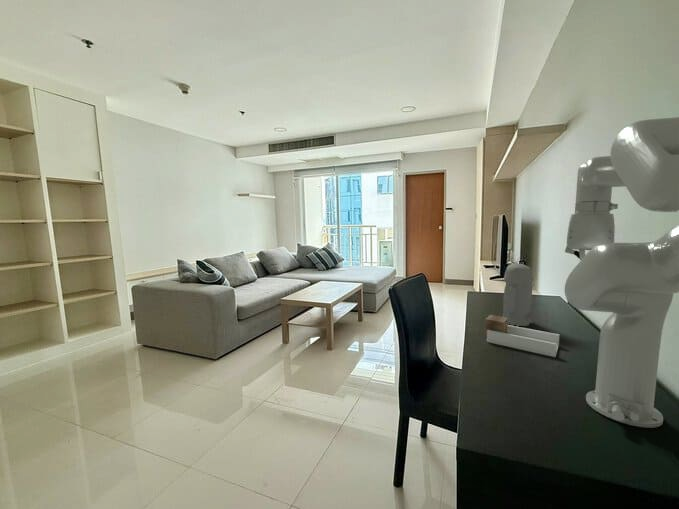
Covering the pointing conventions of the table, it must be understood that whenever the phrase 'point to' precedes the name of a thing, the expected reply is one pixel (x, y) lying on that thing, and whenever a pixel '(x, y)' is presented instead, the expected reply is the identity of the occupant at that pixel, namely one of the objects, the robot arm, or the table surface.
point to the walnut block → (496, 324)
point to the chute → (526, 340)
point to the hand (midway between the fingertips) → (586, 274)
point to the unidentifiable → (518, 294)
